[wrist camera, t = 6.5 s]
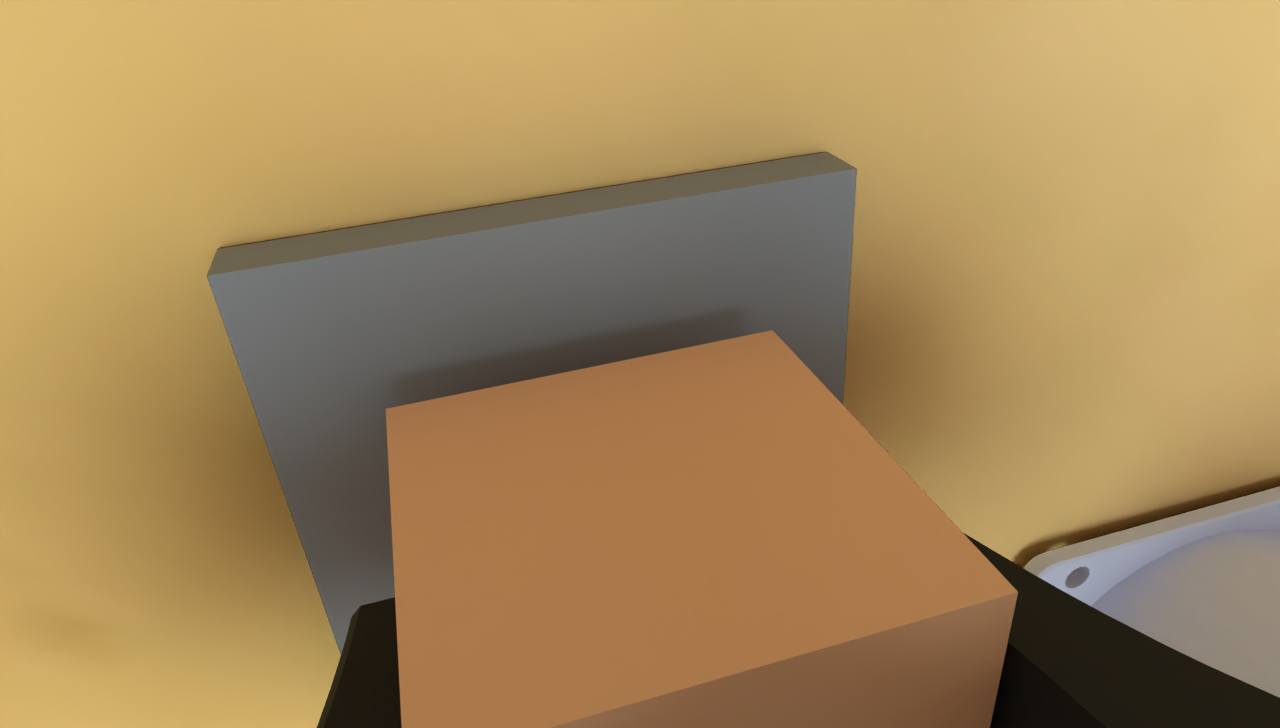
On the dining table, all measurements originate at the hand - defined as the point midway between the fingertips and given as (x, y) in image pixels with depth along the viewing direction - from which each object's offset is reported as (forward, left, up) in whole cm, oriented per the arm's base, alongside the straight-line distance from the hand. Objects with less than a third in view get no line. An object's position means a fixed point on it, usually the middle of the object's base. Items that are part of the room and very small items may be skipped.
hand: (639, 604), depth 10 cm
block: (0, 0, -2) cm, 2 cm away
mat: (0, 0, -3) cm, 3 cm away
